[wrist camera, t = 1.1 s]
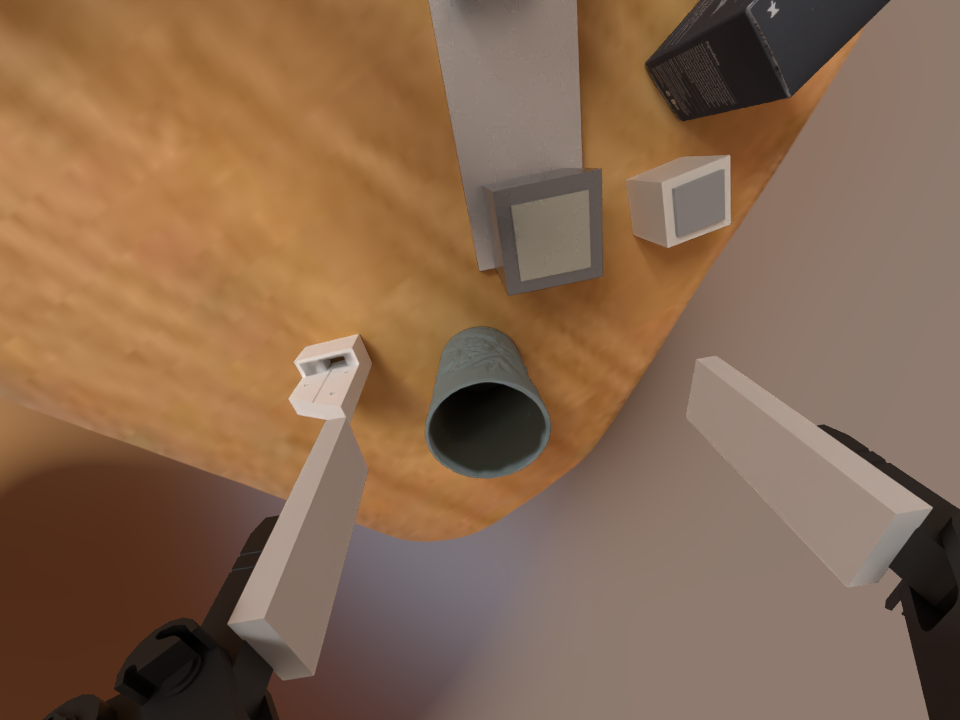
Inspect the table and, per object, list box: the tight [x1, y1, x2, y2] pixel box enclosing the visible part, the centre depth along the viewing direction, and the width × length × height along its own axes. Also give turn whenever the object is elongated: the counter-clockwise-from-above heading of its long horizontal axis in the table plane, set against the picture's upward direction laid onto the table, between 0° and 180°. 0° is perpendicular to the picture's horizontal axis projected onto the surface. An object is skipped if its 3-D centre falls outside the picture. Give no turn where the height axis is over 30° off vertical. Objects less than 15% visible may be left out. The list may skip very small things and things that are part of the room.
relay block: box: [625, 155, 731, 248], centre depth 29 cm, size 5×5×6 cm
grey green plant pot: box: [425, 327, 551, 478], centre depth 33 cm, size 10×10×12 cm
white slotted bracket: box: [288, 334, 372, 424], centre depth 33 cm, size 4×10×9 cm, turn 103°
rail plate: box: [428, 0, 603, 296], centre depth 23 cm, size 26×10×9 cm, turn 10°
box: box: [645, 0, 890, 121], centre depth 22 cm, size 8×6×11 cm
